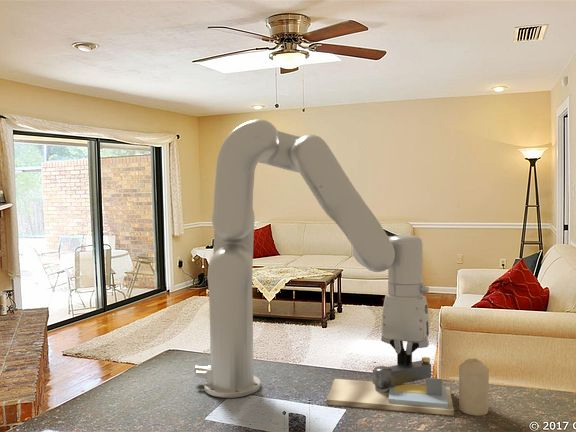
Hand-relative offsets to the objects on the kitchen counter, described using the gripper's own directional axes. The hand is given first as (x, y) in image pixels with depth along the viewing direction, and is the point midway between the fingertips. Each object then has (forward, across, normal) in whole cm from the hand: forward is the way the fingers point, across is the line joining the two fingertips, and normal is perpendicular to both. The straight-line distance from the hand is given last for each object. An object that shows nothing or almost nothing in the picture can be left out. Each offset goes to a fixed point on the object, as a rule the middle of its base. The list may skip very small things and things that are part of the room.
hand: (404, 369), depth 117 cm
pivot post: (+3, +2, +9) cm, 10 cm away
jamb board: (+3, 0, +10) cm, 11 cm away
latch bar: (+1, -1, +5) cm, 5 cm away
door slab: (+2, -5, +9) cm, 11 cm away
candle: (+3, -16, +9) cm, 19 cm away
